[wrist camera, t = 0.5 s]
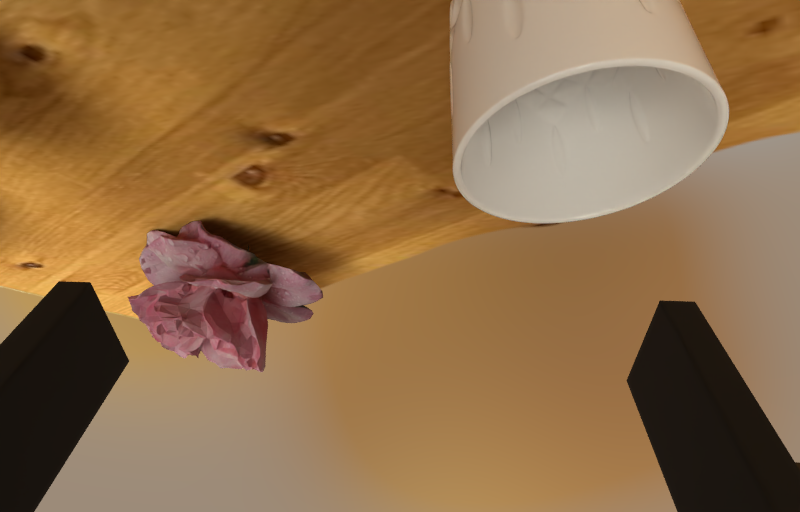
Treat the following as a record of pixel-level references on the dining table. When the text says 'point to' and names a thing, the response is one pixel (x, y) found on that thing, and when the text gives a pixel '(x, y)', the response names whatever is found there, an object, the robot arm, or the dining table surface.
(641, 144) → the white cup
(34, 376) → the robot arm
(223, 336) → the flower
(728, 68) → the dining table surface
